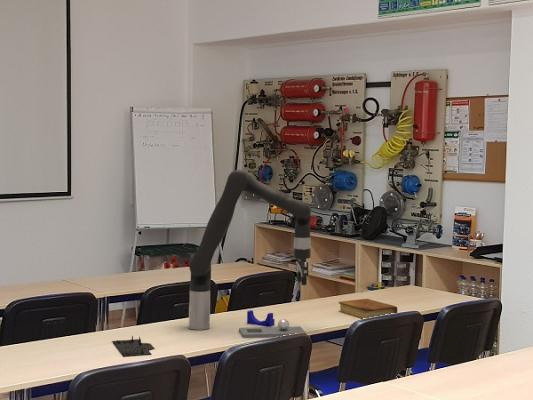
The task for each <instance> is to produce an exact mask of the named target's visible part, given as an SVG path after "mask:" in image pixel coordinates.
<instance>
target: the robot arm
mask: <svg viewBox="0 0 533 400" xmlns="http://www.w3.org/2000/svg"><path fill="white" fill-rule="evenodd" d="M243 192H247V193H250V194H253V195H255V196H257V197H259V198H260V199H262V200H263V201H265V202H267V203H269V204H271V205H272V206H274V207H277V208H278V209H280V210H283V211H285V212H287V213H289V215H292V216H294V217H295V225H294V238H293V258H295V272H296V281H297V283H299V282H300V283H301V285H302V286H307V284H308V283H307V281H308V277H309V262H307V259H310V258H311V256H312V255H311V253H312V252H311V251H312V250H311V249H312V248H311V246H312V243H311V217H312V208H311V206H310V204H309V203H307V202H306V201H300V200H297V199H296V198H294V197H293V196H291V195H290V194H287V193H285V192H283V191H281V190H279V189H277V188H274V187H272V186H269V185H267V184H264V183H263V182H261V181H259V180H257V179H256V178H254V176H252V175H250V174H249V173H248V172H246V171H245V170H243V169H234V170H233V171H231V172H230V173H229V175H228V177H227V180H226V183H225V186H224V188H223V192H222V194H221V196H220V198H219V201H218V202H217V203H216V205H215V207H214V209H213V211H212V213H211V215H210V217H209V219H208V221H207V225H206V227H205V229H204V232H203V235H202V239H201V241H200V244H199V246H198V248H197V250H196V252H195V253H194V255H193V257H192V258H191V259H190V261H189V264H188V265H189V267H188V268H189V271H190V279H189V280H190V281H189V305H188V328H189V330H195V331H196V330H198V331H199V330H202V331H203V330H208V329H210V327H211V326H210V325H211V323H210V322H211V284H212V283H211V282H212V261H213V257H214V254H215V252H216V250H217V248H218V247H219V246H220V244H221V242H222V240H223V239H224V237H225V235H226V233H227V231H228V230H229V228H230V225H231V222H232V220H233V217H234V214H235V210H236V205H237V202H238V201H239V199H240V197H241V195H242V194H243Z"/></svg>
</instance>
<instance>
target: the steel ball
mask: <svg viewBox="0 0 533 400" xmlns="http://www.w3.org/2000/svg"><path fill="white" fill-rule="evenodd" d="M277 327H279V329H281V330H287V329H288V327H290V322H289V320H287V319H286V318H282V319H280V320H278V322H277Z"/></svg>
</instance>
